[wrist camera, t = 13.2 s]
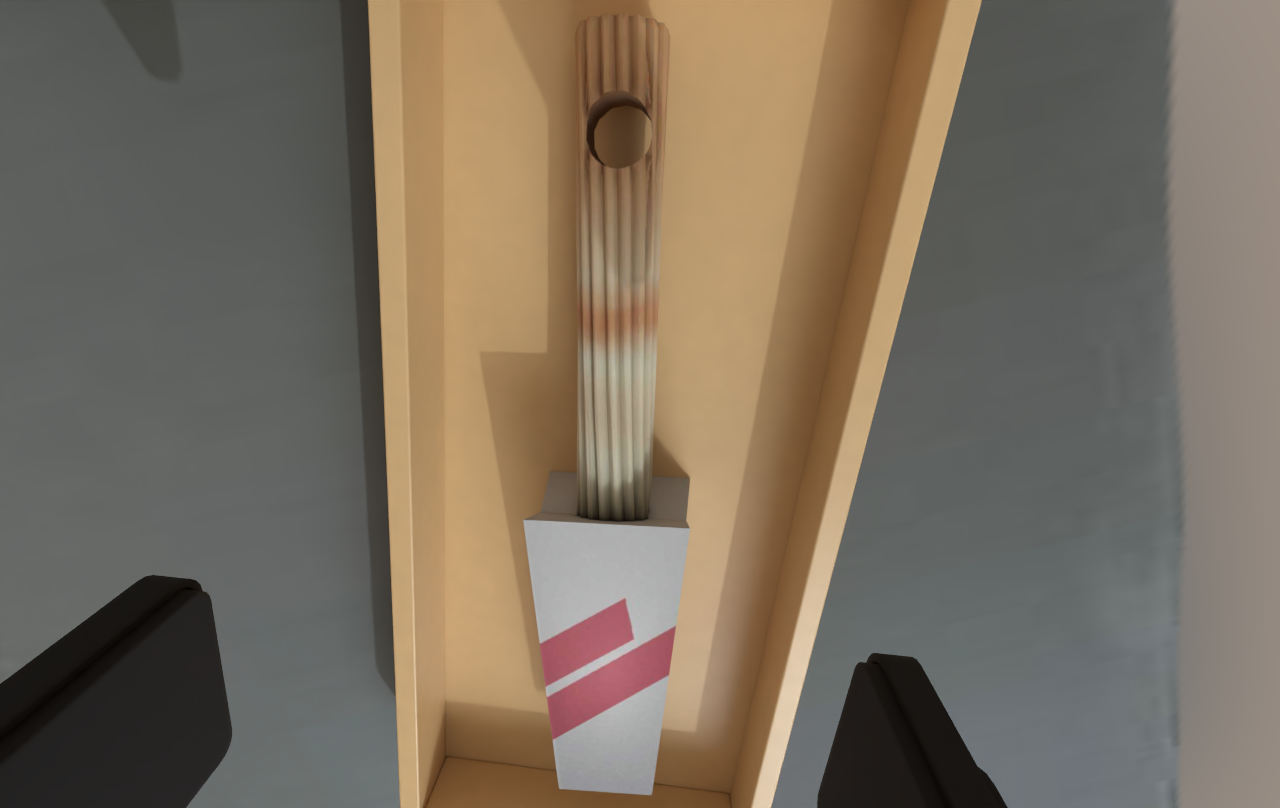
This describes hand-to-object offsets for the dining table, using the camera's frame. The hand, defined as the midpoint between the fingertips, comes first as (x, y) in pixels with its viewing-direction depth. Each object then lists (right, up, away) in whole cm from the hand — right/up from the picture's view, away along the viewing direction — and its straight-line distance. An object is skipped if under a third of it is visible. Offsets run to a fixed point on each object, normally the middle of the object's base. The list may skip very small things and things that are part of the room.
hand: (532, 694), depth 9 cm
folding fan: (+1, +3, +7) cm, 8 cm away
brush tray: (+1, +3, +8) cm, 8 cm away
